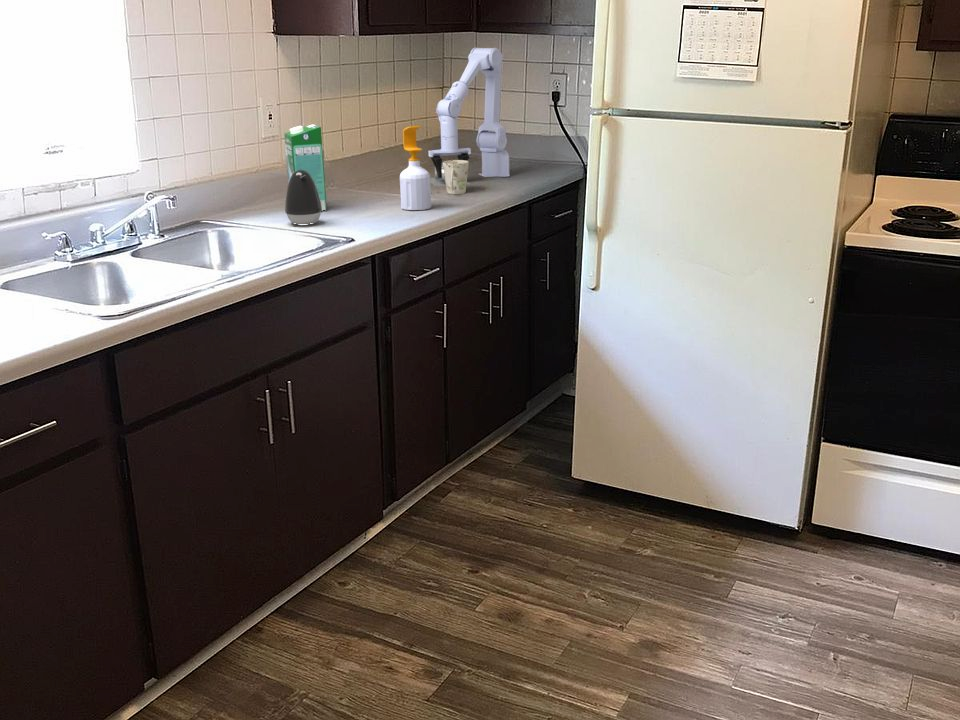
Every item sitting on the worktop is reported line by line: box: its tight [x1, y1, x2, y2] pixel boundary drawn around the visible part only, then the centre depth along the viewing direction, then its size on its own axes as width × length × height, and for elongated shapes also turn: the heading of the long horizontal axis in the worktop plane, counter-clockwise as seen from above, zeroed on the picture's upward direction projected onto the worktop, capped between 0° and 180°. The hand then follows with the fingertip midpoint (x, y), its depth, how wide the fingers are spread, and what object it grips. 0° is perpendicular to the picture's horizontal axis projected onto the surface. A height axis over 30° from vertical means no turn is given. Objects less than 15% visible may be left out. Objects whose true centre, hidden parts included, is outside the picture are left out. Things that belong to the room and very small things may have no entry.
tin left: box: [434, 162, 443, 179], centre depth 343 cm, size 5×5×5 cm
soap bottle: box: [399, 125, 432, 211], centre depth 291 cm, size 9×9×25 cm
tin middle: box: [439, 165, 445, 182], centre depth 338 cm, size 5×5×5 cm
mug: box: [442, 159, 470, 195], centre depth 316 cm, size 8×13×10 cm, turn 174°
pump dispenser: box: [284, 170, 322, 224], centre depth 274 cm, size 10×10×15 cm
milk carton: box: [283, 123, 328, 211], centre depth 291 cm, size 9×9×25 cm
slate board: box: [430, 177, 471, 187], centre depth 338 cm, size 12×18×1 cm, turn 18°
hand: (450, 177), depth 332 cm, fingers open, 7 cm apart
